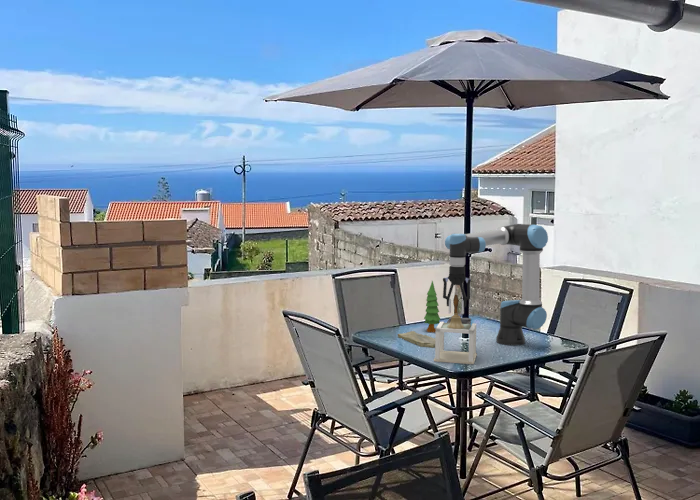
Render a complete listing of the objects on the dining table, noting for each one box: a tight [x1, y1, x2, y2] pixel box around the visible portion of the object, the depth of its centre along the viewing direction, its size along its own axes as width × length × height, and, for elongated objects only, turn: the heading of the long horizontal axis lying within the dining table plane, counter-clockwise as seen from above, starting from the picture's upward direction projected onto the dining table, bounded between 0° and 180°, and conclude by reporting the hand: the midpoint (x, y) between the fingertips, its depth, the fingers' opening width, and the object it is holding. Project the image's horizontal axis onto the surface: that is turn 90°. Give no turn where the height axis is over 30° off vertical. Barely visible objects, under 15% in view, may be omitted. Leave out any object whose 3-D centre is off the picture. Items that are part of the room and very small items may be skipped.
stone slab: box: [397, 330, 435, 349], centre depth 373 cm, size 12×4×30 cm
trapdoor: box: [442, 316, 472, 330], centre depth 342 cm, size 13×25×2 cm, turn 165°
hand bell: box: [447, 294, 464, 329], centre depth 333 cm, size 8×8×16 cm
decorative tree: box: [423, 280, 441, 333], centre depth 398 cm, size 10×9×30 cm
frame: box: [433, 321, 478, 365], centre depth 337 cm, size 19×19×16 cm
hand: (456, 313), depth 333 cm, fingers open, 6 cm apart
